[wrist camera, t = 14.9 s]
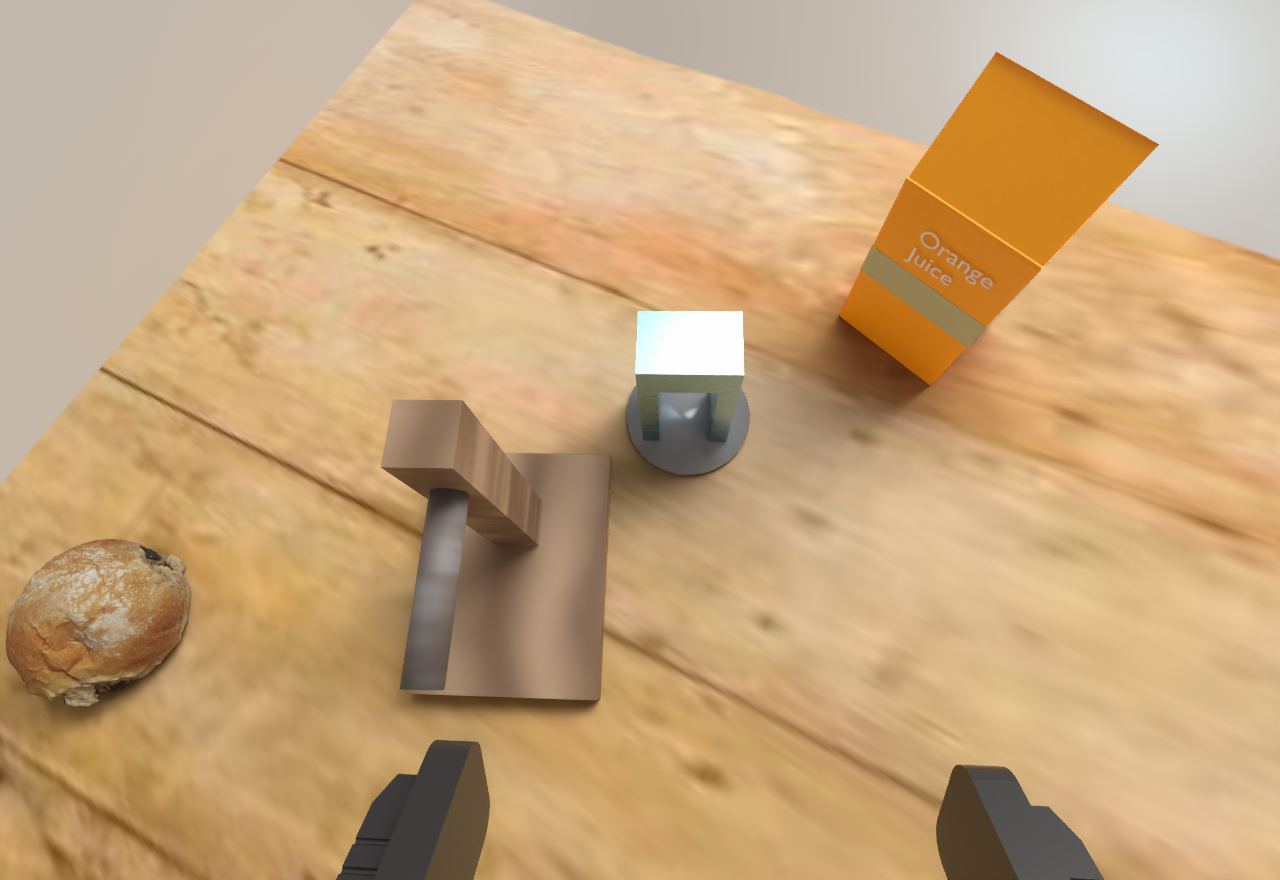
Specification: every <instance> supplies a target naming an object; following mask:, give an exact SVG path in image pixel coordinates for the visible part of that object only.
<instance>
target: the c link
mask: <svg viewBox="0 0 1280 880" xmlns="http://www.w3.org/2000/svg"><path fill="white" fill-rule="evenodd" d="M743 377H744V355H743V319H742V312H659V311H638V322H637V348H636V383H637V391H638V400H639V409H640V418H641V427H642V436H643V441H660V403H661V393H709V440H710V442H726V441H727V437H728V433H729V430H730V426H731V422H732V418H733V415H734V411H735V407H736V403H737V400H738V396H739V392H740V388H741V385H742V381H743Z"/></svg>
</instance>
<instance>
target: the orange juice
mask: <svg viewBox="0 0 1280 880" xmlns="http://www.w3.org/2000/svg"><path fill="white" fill-rule="evenodd" d="M1158 145H1159V144H1157V143H1155V142H1154V141H1152V140H1150V139H1148V138H1147V137H1145V136H1143V135H1141V134H1139V133H1137V132H1136V131H1134V130H1133V129H1131V128H1129V127H1127V126H1126V125H1124V124H1122V123H1120V122H1118V121H1117V120H1115V119H1113V118H1112V117H1110V116H1108V115H1106V114H1105V113H1103V112H1101V111H1099V110H1097V109H1095V108H1094V107H1092V106H1090V105H1089V104H1087V103H1085V102H1083V101H1082V100H1080V99H1078V98H1076V97H1074V96H1073V95H1071V94H1069V93H1068V92H1066V91H1064V90H1062V89H1061V88H1059V87H1057V86H1055V85H1053V84H1052V83H1050V82H1048V81H1046V80H1045V79H1043V78H1041V77H1040V76H1038V75H1036V74H1034V73H1033V72H1031V71H1029V70H1027V69H1026V68H1024V67H1022V66H1020V65H1019V64H1017V63H1015V62H1013V61H1012V60H1010V59H1008V58H1006V57H1005V56H1003V55H1001V54H999V53H998V52H996V53H995V55H994V56H993V58H992V59H991V60H990V62H989V63H988V65H987V66H986V68H985V69H984V70H983V72H982V73H981V75H980V76H979V78H978V79H977V81H976V82H975V84H974V85H973V86H972V88H971V89H970V90H969V92H968V93H967V95H966V96H965V98H964V99H963V101H962V102H961V103H960V105H959V106H958V108H957V109H956V111H955V112H954V113H953V115H952V116H951V118H950V119H949V121H948V122H947V123H946V125H945V126H944V128H943V129H942V131H941V132H940V133H939V135H938V136H937V138H936V139H935V141H934V142H933V144H932V145H931V146H930V148H929V149H928V151H927V152H926V153H925V155H924V156H923V158H922V159H921V161H920V162H919V163H918V165H917V166H916V168H915V169H914V171H913V172H912V173H911V174H910V175H909V176H908V177H907V178H906V180H905V182H904V184H903V186H902V188H901V190H900V192H899V194H898V196H897V198H896V200H895V202H894V204H893V206H892V208H891V210H890V212H889V214H888V216H887V218H886V220H885V222H884V225H883V227H882V229H881V231H880V233H879V235H878V237H877V239H876V241H875V243H874V245H873V246H872V247H871V249H870V251H869V253H868V255H867V257H866V259H865V261H864V263H863V265H862V267H861V269H860V270H861V271H860V273H859V275H858V277H857V279H856V281H855V283H854V285H853V287H852V289H851V291H850V294H849V296H848V298H847V300H846V302H845V304H844V306H843V308H842V310H841V312H840V314H839V316H840V317H841V318H843V319H844V320H845V321H846V322H848V323H849V324H850V325H852V326H853V327H854V328H856V329H857V330H858V331H859V332H861V333H862V334H863V335H865V336H866V337H867V338H869V339H870V340H871V341H872V342H874V343H875V344H876V345H878V346H879V347H880V348H882V349H883V350H884V351H885V352H887V353H888V354H889V355H891V356H892V357H893V358H895V359H896V360H897V361H898V362H900V363H901V364H902V365H904V366H905V367H906V368H908V369H909V370H910V371H911V372H913V373H914V374H915V375H917V376H918V377H919V378H921V379H922V380H923V381H924V382H926V383H927V384H928V385H930V386H931V385H932V384H933V383H934V382H935V381H936V380H937V379H938V377H939V376H940V375H941V374H942V373H943V372H944V371H945V370H946V369H947V368H948V367H949V366H950V365H951V364H952V363H953V362H954V361H955V360H956V359H957V358H958V357H959V355H960V354H961V353H962V352H963V351H964V350H965V349H966V348H968V347H969V346H970V345H971V344H972V343H973V342H974V341H975V340H976V339H977V338H978V337H979V336H980V334H981V333H982V332H983V331H984V330H985V329H986V328H987V327H988V326H989V325H990V324H991V323H992V322H993V321H994V320H995V319H996V318H997V317H998V315H999V314H1000V313H1001V312H1002V311H1003V310H1004V309H1005V308H1006V307H1007V306H1008V305H1009V304H1010V303H1011V302H1013V300H1014V298H1015V297H1016V296H1017V295H1018V294H1019V293H1020V292H1021V291H1022V290H1023V289H1024V288H1025V287H1026V286H1027V285H1028V284H1029V283H1030V281H1031V280H1032V279H1033V278H1034V277H1035V276H1036V275H1037V274H1038V273H1039V272H1040V271H1041V270H1042V269H1043V268H1044V267H1045V266H1046V264H1047V263H1048V262H1049V261H1050V260H1051V259H1052V258H1053V257H1054V256H1055V255H1056V254H1057V252H1058V251H1059V250H1060V249H1061V248H1062V247H1063V246H1064V245H1065V244H1066V243H1067V242H1068V241H1069V240H1070V239H1071V238H1072V237H1073V235H1074V234H1075V233H1076V232H1077V231H1078V230H1079V229H1080V228H1081V227H1082V226H1083V225H1084V224H1085V223H1086V222H1087V221H1088V220H1089V218H1090V217H1091V216H1092V215H1093V214H1094V213H1095V212H1096V211H1097V210H1098V209H1099V208H1100V207H1101V206H1102V205H1103V204H1104V203H1105V202H1106V200H1107V199H1108V198H1109V197H1110V196H1111V195H1112V194H1113V193H1114V192H1115V191H1116V190H1117V189H1118V188H1119V186H1121V184H1122V183H1123V182H1124V181H1125V180H1126V179H1127V178H1128V176H1130V175H1131V173H1132V172H1133V171H1134V170H1135V169H1136V168H1137V167H1138V166H1139V165H1140V164H1141V163H1142V162H1143V161H1144V160H1145V159H1146V157H1148V156H1149V154H1150V153H1151V152H1152V151H1153V150H1154V149H1155V148H1156V147H1157V146H1158ZM1034 279H1035V278H1034Z"/></svg>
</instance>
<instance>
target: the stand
mask: <svg viewBox="0 0 1280 880" xmlns="http://www.w3.org/2000/svg"><path fill="white" fill-rule="evenodd" d="M611 466H612V460H611V457H610V455H600V454H534V453H504V452H503V451H502V450H501V448H500V447H499V446H498V445H497V443H496V442H495V441H494V440H493V438H492V437H491V436H490V434H489V433H488V432H487V431H486V429H485V428H484V427H483V426H482V424H481V423H480V422H479V421H478V419H477V418H476V417H475V415H474V414H473V413H472V412H471V410H470V409H469V408H468V407H467V405H466V404H465V403H464V401H463V400H393V403H392V409H391V414H390V420H389V425H388V431H387V436H386V442H385V447H384V453H383V458H382V464H381V468H383V469H384V470H386V471H387V472H389V473H390V474H392V475H393V476H395V477H396V478H397V479H399V480H400V481H402V482H403V483H405V484H406V485H408V486H409V487H411V488H412V489H414V490H415V491H417V492H418V493H420V494H421V495H423V496H424V497H426V498H427V499H428V506H427V512H426V519H425V526H424V532H423V539H422V546H421V552H420V559H419V565H418V572H417V579H416V585H415V592H414V598H413V605H412V612H411V618H410V625H409V632H408V638H407V645H406V651H405V658H404V665H403V671H402V678H401V685H400V689H404V690H408V694H432V695H460V696H488V697H516V698H544V699H572V700H599V699H600V694H601V673H602V653H603V632H604V611H605V590H606V570H607V549H608V528H609V507H610V487H611Z"/></svg>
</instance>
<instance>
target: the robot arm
mask: <svg viewBox="0 0 1280 880" xmlns="http://www.w3.org/2000/svg"><path fill="white" fill-rule="evenodd" d="M489 808H490V801H489V792H488V787H487V781H486V775H485V770H484V764H483V759H482V753H481V748H480V745H479V743H478V742H469V741H446V740H435V741H434V742H433V743H432V744H431V745H430V747H429V749H428V751H427V753H426V755H425V758H424V760H423V762H422V765H421V767H420V769H419V772H418V774H417V775H409V774H398V775H397V776H396V777H395V778H394V779H393V780H392V781H391V782H390V784H389V785H388V786H387V787H386V788H385V789H384V790H383V791H382V793H381V794H380V795H379V796H378V797H377V798H376V799H375V800H374V801H373V803H372V804H371V807H370V809H369V811H368V813H367V815H366V817H365V819H364V821H363V824H362V826H361V828H360V830H359V832H358V834H357V836H356V842H355V844H353V845H352V847H351V849H350V851H349V853H348V855H347V858H346V860H345V862H344V864H343V866H342V872H341V874H339V875H338V877H337V879H336V880H473V879H474V875H475V872H476V868H477V865H478V861H479V857H480V854H481V850H482V847H483V843H484V840H485V836H486V831H487V826H488V819H489ZM936 836H937V845H938V850H939V855H940V859H941V862H942V865H943V868H944V871H945V873H946V876H947V879H948V880H1104V878H1103V877H1102V875H1101V873H1100V872H1099V870H1098V868H1097V866H1096V865H1095V863H1094V861H1093V860H1092V858H1091V856H1090V854H1089V853H1088V851H1087V849H1086V848H1085V846H1084V844H1083V842H1082V841H1081V840H1080V839H1079V838H1078V837H1077V836H1076V834H1075V833H1074V832H1073V831H1072V830H1071V829H1070V828H1069V827H1068V826H1067V825H1066V824H1065V823H1064V822H1063V821H1062V820H1061V819H1060V818H1059V817H1058V816H1057V815H1056V814H1055V813H1054V812H1053V811H1052V810H1051V809H1050V808H1049V807H1045V806H1031V805H1030V803H1029V801H1028V799H1027V797H1026V796H1025V794H1024V792H1023V790H1022V788H1021V786H1020V784H1019V783H1018V781H1017V779H1016V777H1015V776H1014V775H1013V773H1012V772H1011V771H1010V770H1009V769H1007V768H1006V767H999V766H976V765H956V766H955V767H954V768H953V770H952V773H951V777H950V780H949V783H948V786H947V790H946V793H945V796H944V799H943V803H942V806H941V809H940V812H939V816H938V819H937V825H936Z"/></svg>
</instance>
